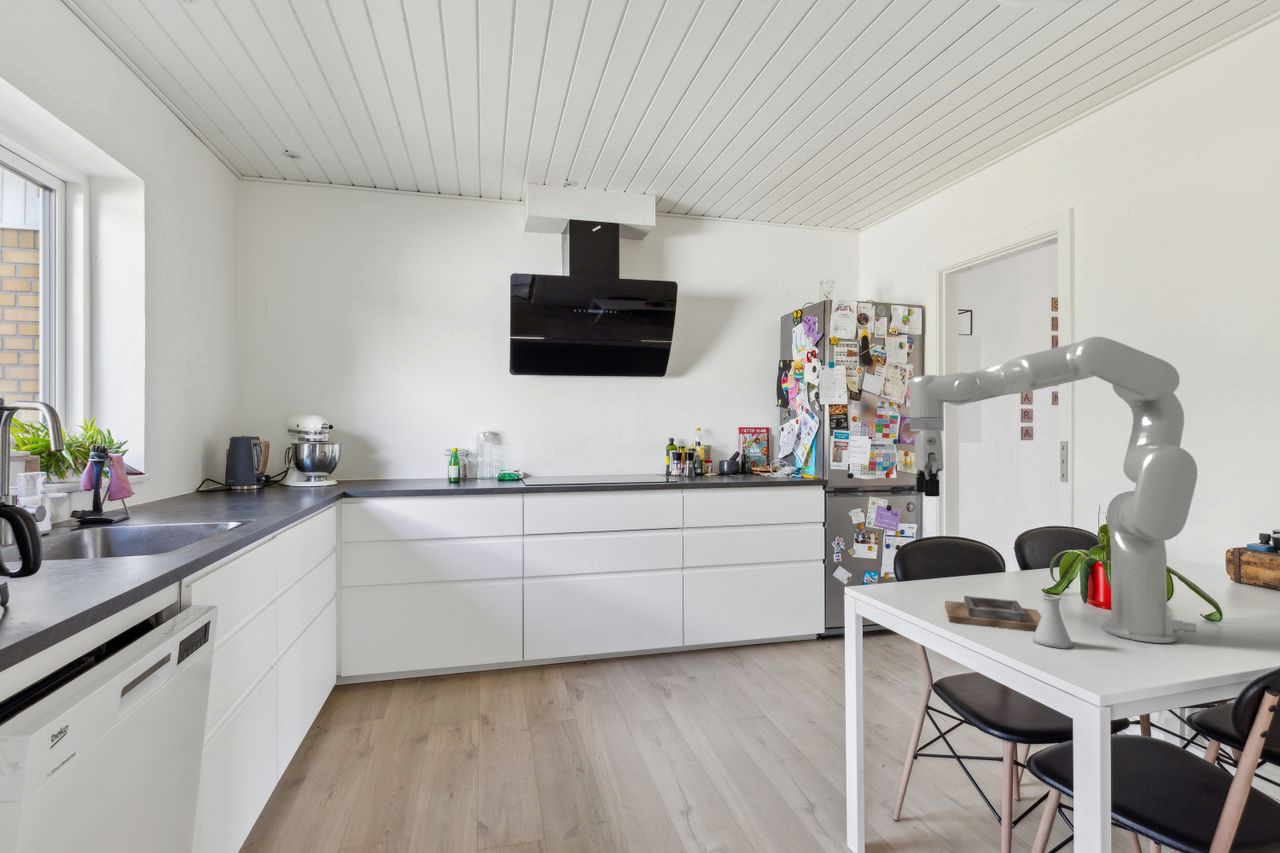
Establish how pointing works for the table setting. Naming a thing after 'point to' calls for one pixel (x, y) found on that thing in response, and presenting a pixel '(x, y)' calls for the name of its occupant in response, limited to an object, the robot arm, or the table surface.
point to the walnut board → (992, 613)
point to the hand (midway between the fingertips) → (927, 494)
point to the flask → (1052, 625)
